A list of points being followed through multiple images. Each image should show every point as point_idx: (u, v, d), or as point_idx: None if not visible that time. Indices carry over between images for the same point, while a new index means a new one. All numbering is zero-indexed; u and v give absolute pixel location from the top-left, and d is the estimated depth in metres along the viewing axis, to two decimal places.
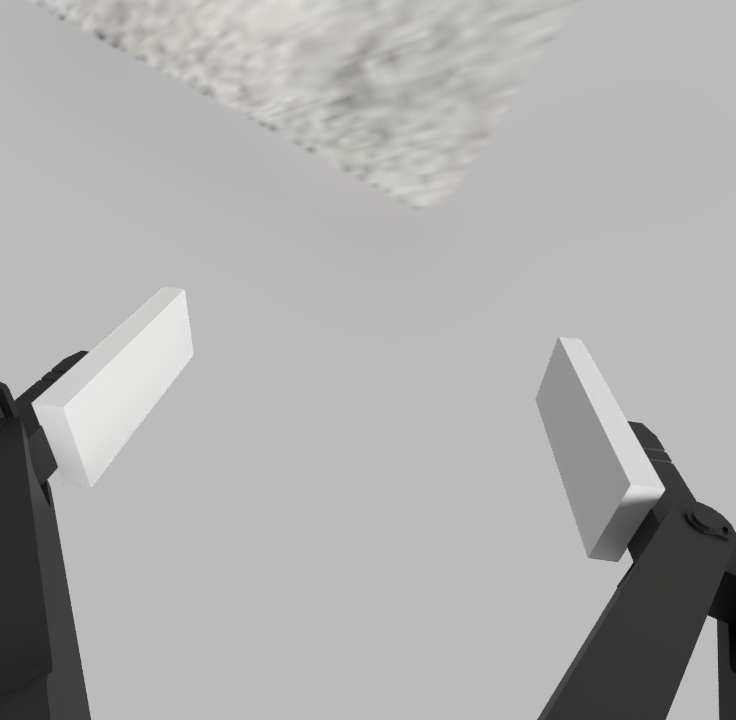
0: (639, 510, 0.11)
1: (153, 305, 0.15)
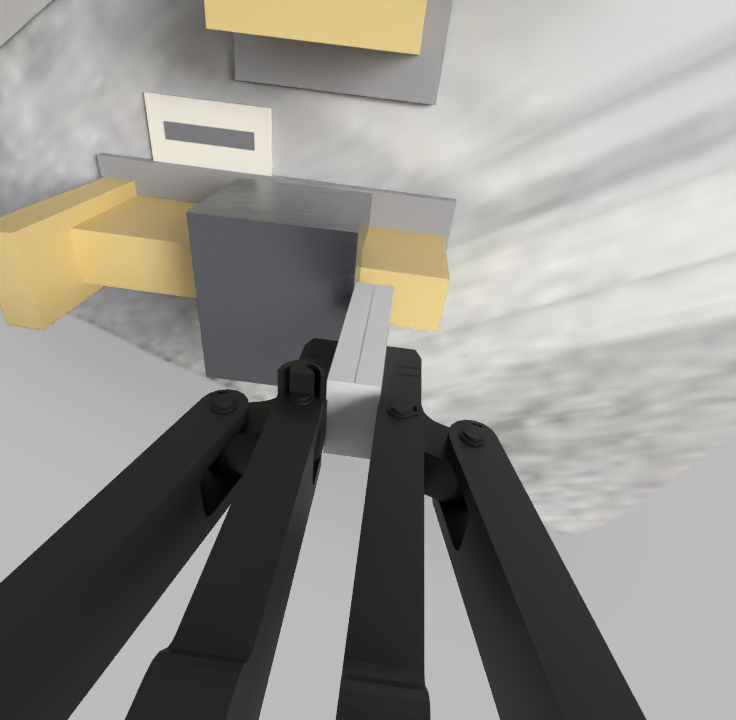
0: (369, 408, 0.13)
1: (360, 298, 0.17)
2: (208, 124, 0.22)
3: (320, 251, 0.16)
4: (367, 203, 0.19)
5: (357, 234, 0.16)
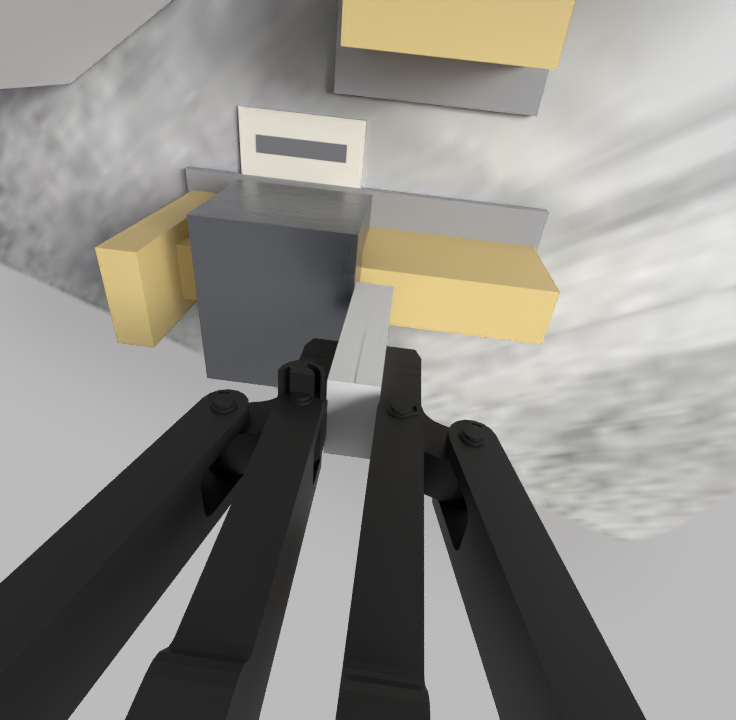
0: (369, 408, 0.13)
1: (360, 298, 0.17)
2: (301, 137, 0.22)
3: (320, 253, 0.16)
4: (367, 205, 0.19)
5: (357, 236, 0.16)
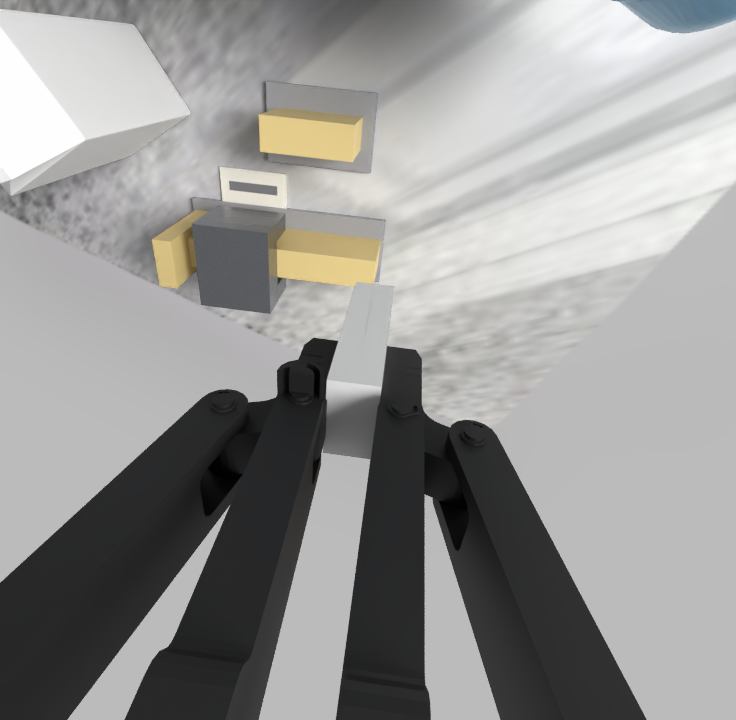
0: (369, 408, 0.13)
1: (360, 298, 0.17)
2: (253, 182, 0.42)
3: (252, 241, 0.36)
4: (279, 218, 0.39)
5: (267, 233, 0.36)
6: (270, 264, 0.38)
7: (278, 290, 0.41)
